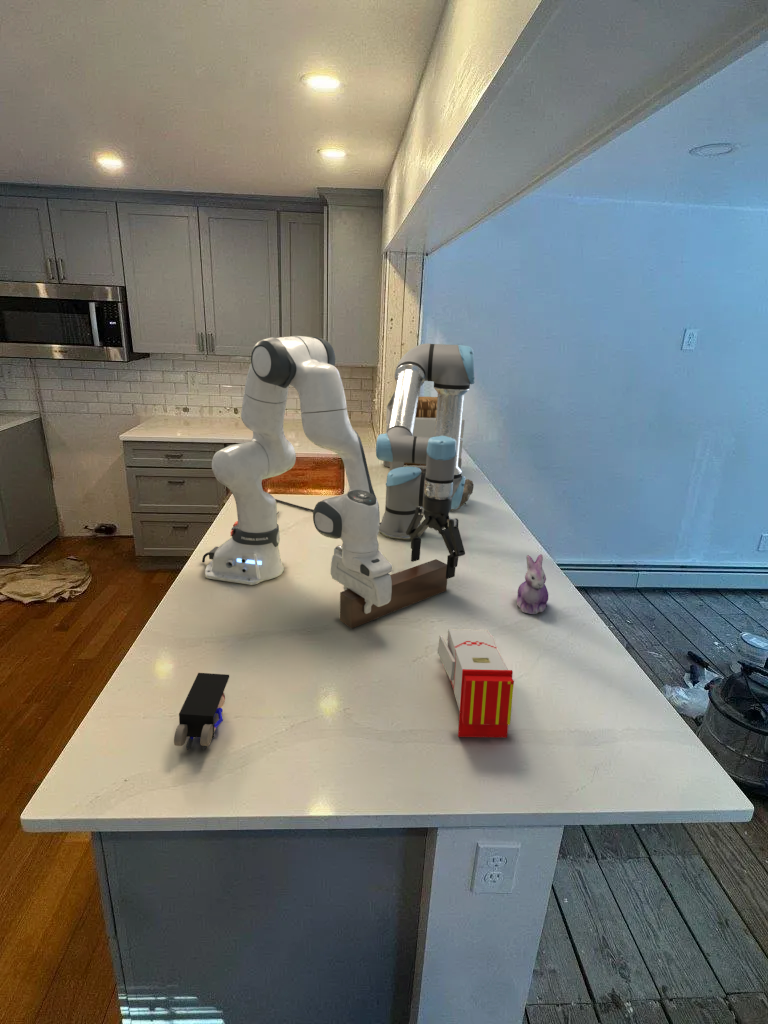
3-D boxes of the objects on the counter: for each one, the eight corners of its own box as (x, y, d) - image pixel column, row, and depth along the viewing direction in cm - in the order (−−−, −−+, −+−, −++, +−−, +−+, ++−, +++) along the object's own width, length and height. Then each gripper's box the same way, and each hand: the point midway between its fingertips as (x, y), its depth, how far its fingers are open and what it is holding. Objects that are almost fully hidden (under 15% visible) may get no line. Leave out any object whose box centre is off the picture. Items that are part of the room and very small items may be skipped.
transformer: (382, 463, 289) (386, 382, 275) (445, 464, 293) (451, 384, 279) (390, 482, 257) (394, 392, 243) (460, 483, 261) (468, 394, 247)
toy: (488, 613, 130) (523, 677, 101) (484, 667, 133) (517, 744, 104) (435, 612, 130) (455, 676, 101) (432, 666, 133) (451, 743, 103)
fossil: (437, 485, 243) (466, 466, 238) (450, 501, 245) (479, 483, 240) (436, 507, 223) (469, 487, 218) (450, 525, 226) (482, 505, 221)
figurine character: (213, 763, 99) (233, 700, 112) (209, 732, 95) (230, 670, 109) (174, 763, 99) (198, 699, 112) (169, 731, 95) (194, 669, 109)
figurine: (531, 619, 148) (539, 566, 143) (506, 601, 156) (512, 551, 151) (558, 611, 152) (567, 560, 147) (532, 595, 160) (539, 546, 155)
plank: (339, 620, 143) (340, 592, 141) (434, 584, 165) (436, 559, 162) (351, 628, 140) (352, 600, 137) (446, 590, 161) (448, 565, 158)
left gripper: (324, 545, 143) (324, 594, 148) (376, 575, 129) (374, 628, 134) (344, 540, 147) (343, 587, 152) (397, 568, 133) (394, 619, 138)
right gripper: (396, 486, 157) (392, 556, 164) (463, 510, 139) (456, 588, 146) (415, 482, 162) (411, 551, 169) (483, 505, 144) (475, 581, 151)
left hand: (358, 607), depth 143 cm, fingers closed on plank, 5 cm apart
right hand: (432, 568), depth 157 cm, fingers open, 13 cm apart
